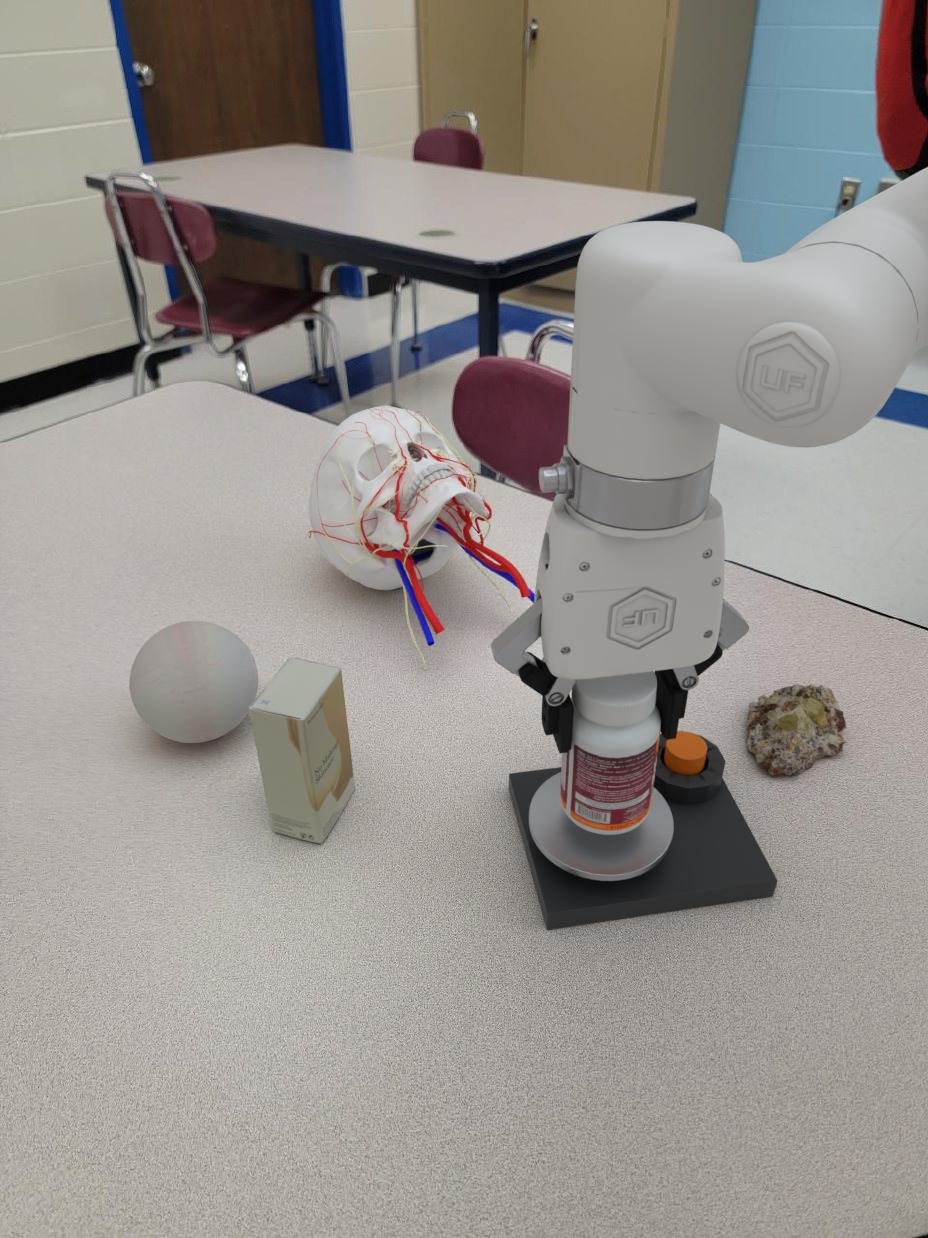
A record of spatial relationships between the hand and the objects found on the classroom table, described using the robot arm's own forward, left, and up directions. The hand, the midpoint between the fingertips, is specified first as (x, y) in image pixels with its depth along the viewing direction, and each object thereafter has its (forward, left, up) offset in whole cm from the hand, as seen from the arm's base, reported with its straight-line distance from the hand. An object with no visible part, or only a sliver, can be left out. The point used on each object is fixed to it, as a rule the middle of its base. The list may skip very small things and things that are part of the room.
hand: (611, 729), depth 58 cm
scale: (-3, -1, -12) cm, 13 cm away
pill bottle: (0, 0, -7) cm, 7 cm away
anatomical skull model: (+9, -35, -13) cm, 38 cm away
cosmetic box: (+20, -8, -13) cm, 25 cm away
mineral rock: (-19, -9, -13) cm, 24 cm away
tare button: (-8, -5, -9) cm, 13 cm away
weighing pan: (0, 0, -9) cm, 9 cm away
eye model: (+29, -19, -13) cm, 37 cm away
